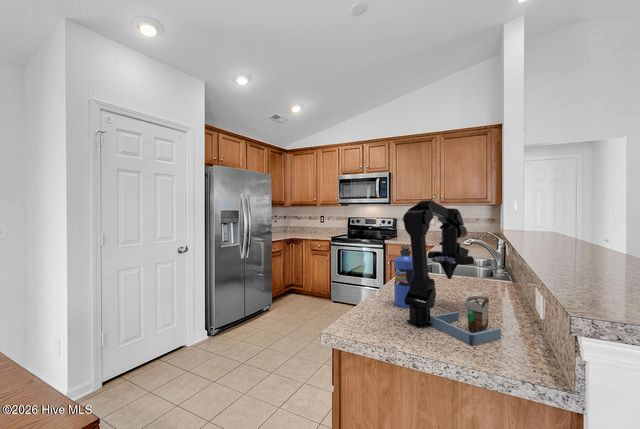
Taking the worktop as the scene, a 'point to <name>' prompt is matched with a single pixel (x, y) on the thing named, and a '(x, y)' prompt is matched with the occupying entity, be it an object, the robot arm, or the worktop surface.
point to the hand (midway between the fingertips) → (449, 278)
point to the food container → (477, 313)
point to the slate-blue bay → (470, 338)
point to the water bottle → (403, 276)
